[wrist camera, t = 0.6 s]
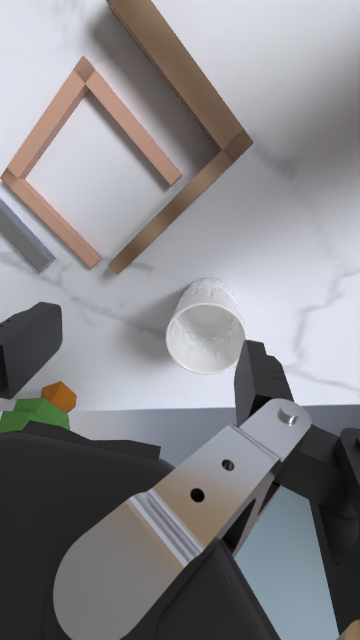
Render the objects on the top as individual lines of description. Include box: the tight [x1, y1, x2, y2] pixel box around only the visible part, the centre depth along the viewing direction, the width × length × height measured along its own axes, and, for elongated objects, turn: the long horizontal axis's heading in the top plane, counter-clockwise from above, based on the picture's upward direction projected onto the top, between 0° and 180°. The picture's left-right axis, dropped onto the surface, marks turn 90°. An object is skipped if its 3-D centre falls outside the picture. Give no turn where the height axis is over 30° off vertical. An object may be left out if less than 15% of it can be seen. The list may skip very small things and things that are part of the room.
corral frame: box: [0, 56, 182, 268], centre depth 32 cm, size 15×14×1 cm
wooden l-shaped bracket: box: [106, 0, 254, 275], centre depth 29 cm, size 19×17×4 cm
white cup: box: [166, 278, 248, 375], centre depth 33 cm, size 8×8×10 cm
